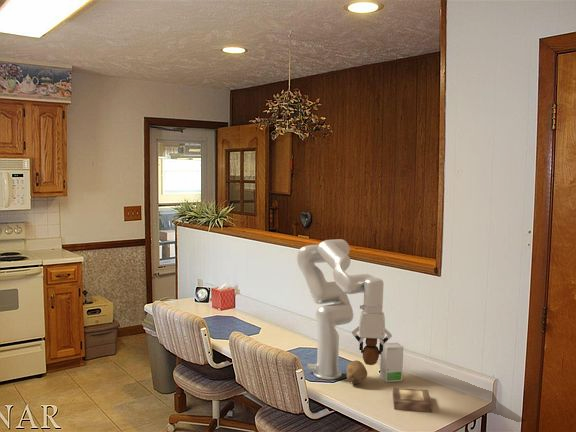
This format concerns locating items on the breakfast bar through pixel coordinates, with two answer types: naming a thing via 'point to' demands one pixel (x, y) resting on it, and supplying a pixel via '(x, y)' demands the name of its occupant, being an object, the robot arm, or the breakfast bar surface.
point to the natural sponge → (356, 372)
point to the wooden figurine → (370, 351)
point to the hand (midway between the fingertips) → (370, 352)
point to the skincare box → (391, 362)
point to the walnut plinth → (412, 399)
